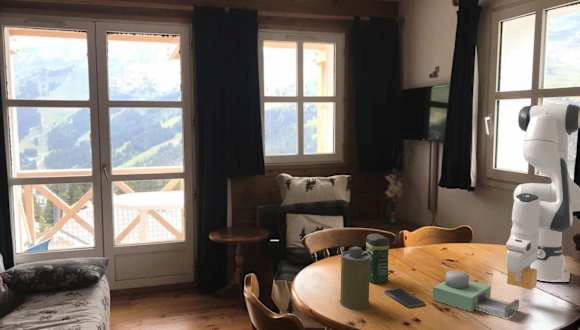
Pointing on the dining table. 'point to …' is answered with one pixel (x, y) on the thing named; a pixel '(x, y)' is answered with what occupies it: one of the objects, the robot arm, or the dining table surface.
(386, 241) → the coffee jar
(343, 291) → the canister
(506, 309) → the open gray drawer
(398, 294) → the phone
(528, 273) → the orange block
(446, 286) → the green block with dome
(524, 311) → the dining table surface
